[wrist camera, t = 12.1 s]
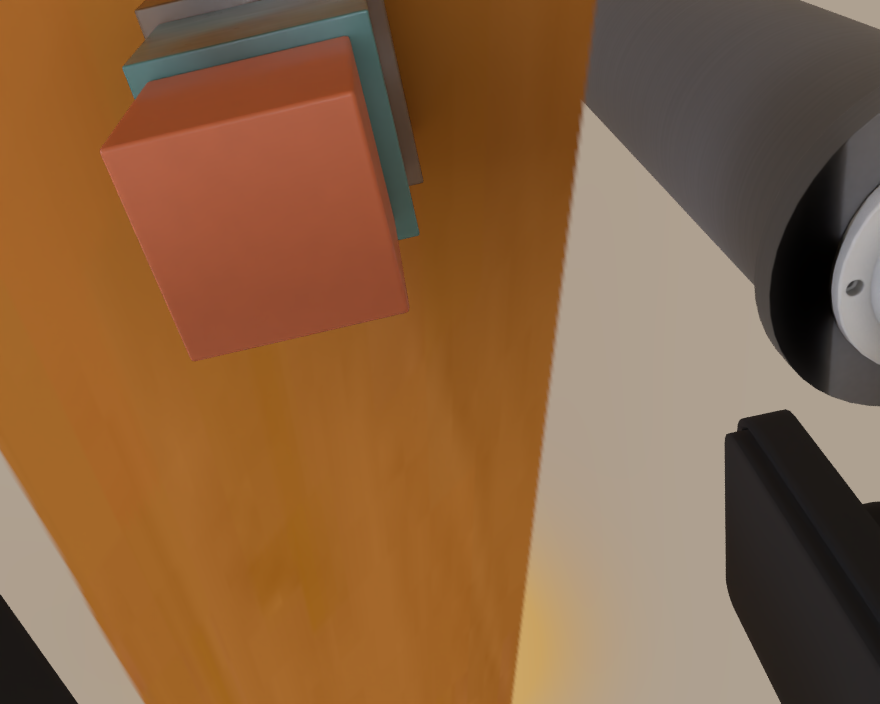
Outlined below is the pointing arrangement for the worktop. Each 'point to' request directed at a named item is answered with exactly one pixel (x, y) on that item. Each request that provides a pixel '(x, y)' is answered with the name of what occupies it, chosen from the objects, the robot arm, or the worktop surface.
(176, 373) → the worktop surface
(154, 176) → the toy cube
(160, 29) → the block stack
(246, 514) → the worktop surface
